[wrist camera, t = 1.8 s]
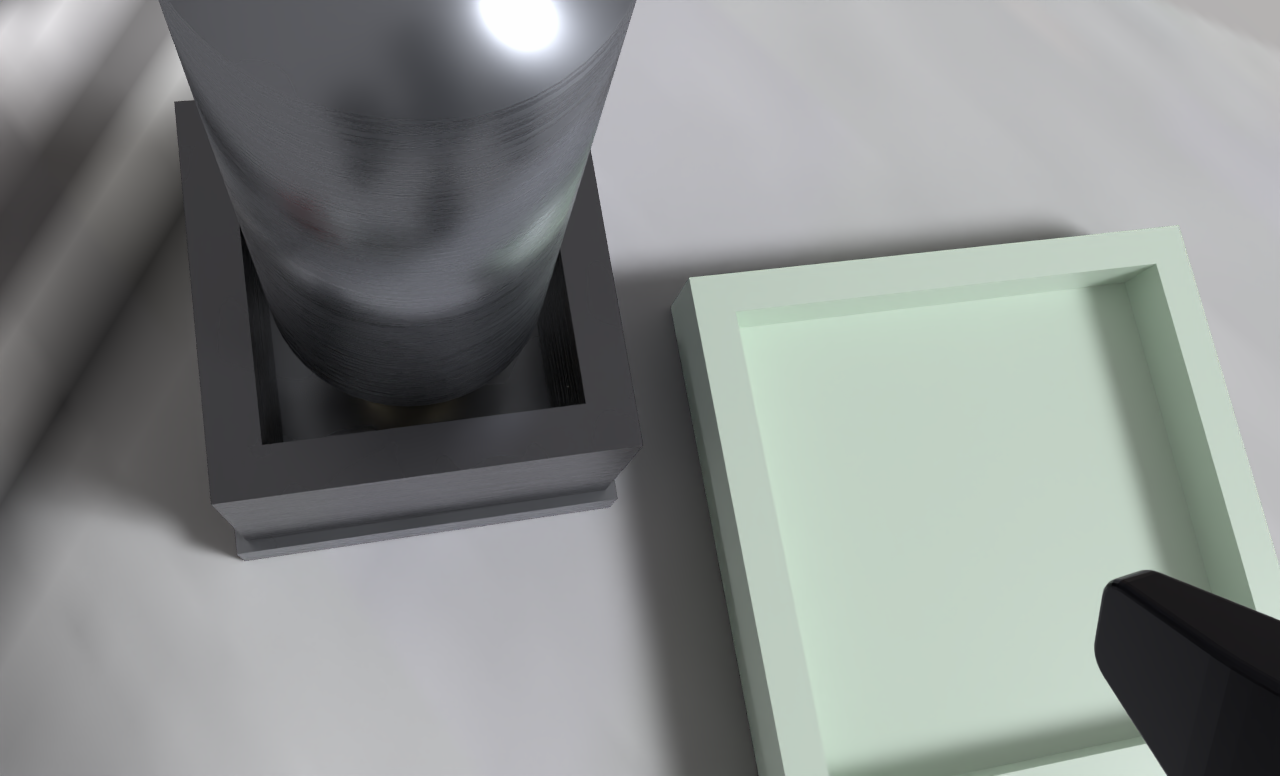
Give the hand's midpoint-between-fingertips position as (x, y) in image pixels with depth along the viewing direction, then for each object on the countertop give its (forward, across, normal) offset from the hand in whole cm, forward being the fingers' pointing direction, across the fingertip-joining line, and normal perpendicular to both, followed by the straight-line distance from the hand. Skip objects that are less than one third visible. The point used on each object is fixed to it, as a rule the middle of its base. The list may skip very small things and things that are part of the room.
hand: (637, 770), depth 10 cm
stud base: (+15, 0, +4) cm, 15 cm away
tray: (+10, -10, +8) cm, 17 cm away
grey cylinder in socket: (+14, 0, +3) cm, 15 cm away
